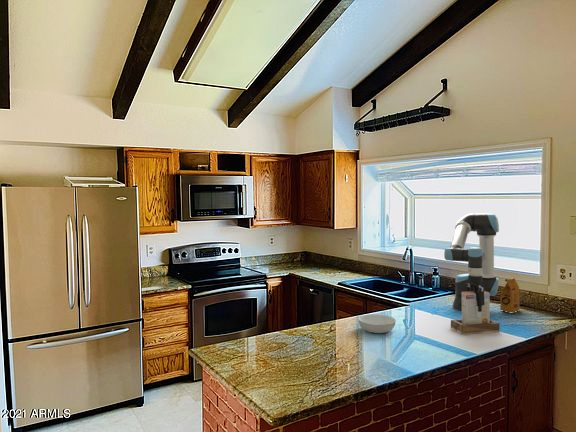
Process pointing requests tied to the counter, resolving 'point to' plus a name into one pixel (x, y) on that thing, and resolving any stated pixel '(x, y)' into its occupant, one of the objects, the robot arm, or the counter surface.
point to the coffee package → (510, 296)
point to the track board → (474, 327)
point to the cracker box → (474, 308)
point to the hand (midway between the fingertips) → (474, 315)
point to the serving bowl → (377, 323)
